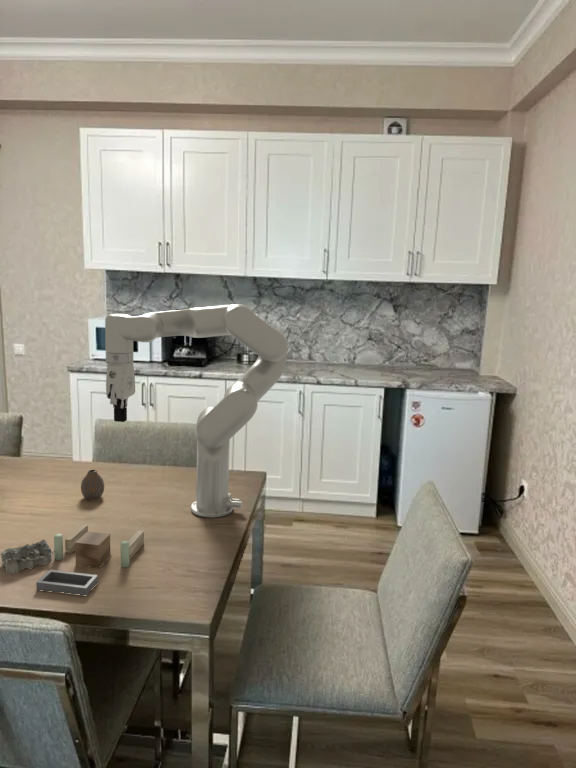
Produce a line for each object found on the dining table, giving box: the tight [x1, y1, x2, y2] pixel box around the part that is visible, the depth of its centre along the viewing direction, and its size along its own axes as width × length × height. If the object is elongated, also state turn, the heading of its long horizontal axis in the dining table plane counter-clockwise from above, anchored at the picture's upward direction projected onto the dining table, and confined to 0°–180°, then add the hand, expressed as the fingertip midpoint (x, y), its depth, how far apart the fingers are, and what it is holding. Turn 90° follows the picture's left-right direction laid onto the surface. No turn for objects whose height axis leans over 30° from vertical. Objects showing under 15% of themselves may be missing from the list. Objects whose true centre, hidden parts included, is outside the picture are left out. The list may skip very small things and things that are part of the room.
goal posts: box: [53, 533, 130, 569], centre depth 139 cm, size 19×2×6 cm, turn 82°
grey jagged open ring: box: [0, 539, 54, 574], centre depth 138 cm, size 11×8×4 cm
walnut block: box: [74, 531, 111, 569], centre depth 140 cm, size 6×6×6 cm
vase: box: [80, 469, 105, 501], centre depth 177 cm, size 7×7×9 cm
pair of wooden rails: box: [64, 523, 145, 561], centre depth 147 cm, size 17×9×4 cm, turn 82°
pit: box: [35, 569, 99, 596], centre depth 129 cm, size 12×6×2 cm, turn 82°
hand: (120, 420), depth 166 cm, fingers closed
